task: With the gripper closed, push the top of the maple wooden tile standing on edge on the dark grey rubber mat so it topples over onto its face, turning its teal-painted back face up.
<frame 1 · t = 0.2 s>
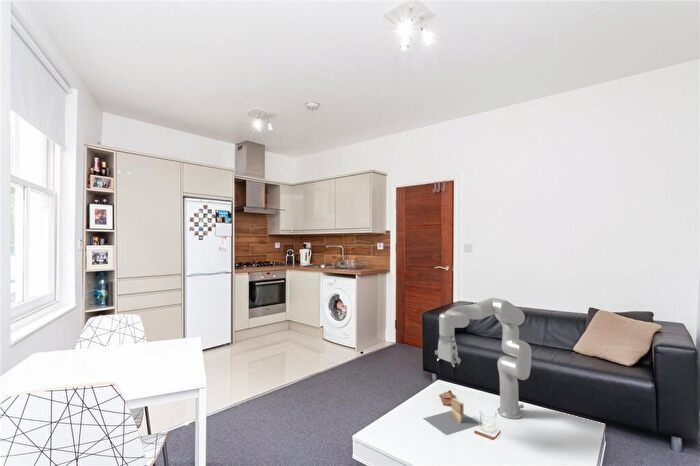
hand: (447, 371, 180), 31 cm above the table, tool pointing down, fingers open, 9 cm apart
sunglasses case: (447, 402, 215), on the table
rubber mat: (451, 422, 189), on the table
maple tile: (457, 419, 191), point 1 cm above the table, touching rubber mat
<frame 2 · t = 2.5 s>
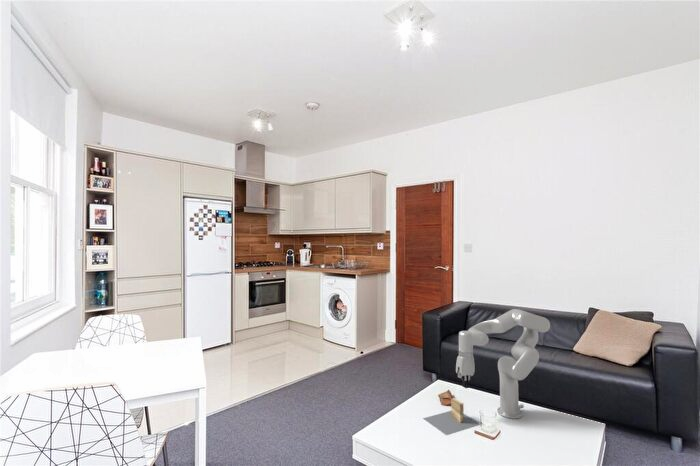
hand: (465, 387, 194), 17 cm above the table, tool pointing down, fingers closed
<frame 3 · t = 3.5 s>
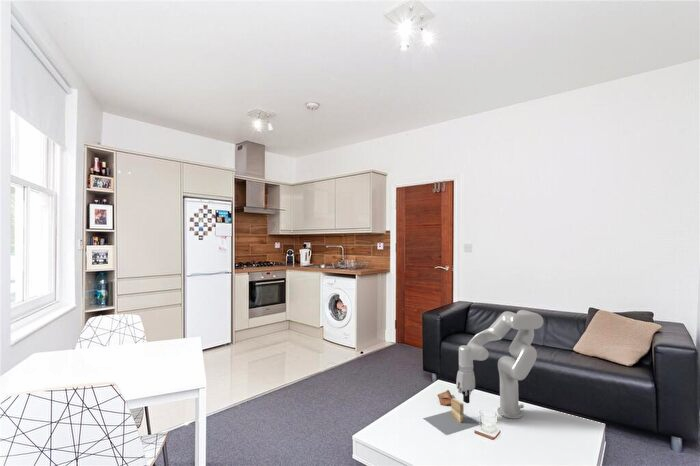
hand: (466, 402, 194), 9 cm above the table, tool pointing down, fingers closed
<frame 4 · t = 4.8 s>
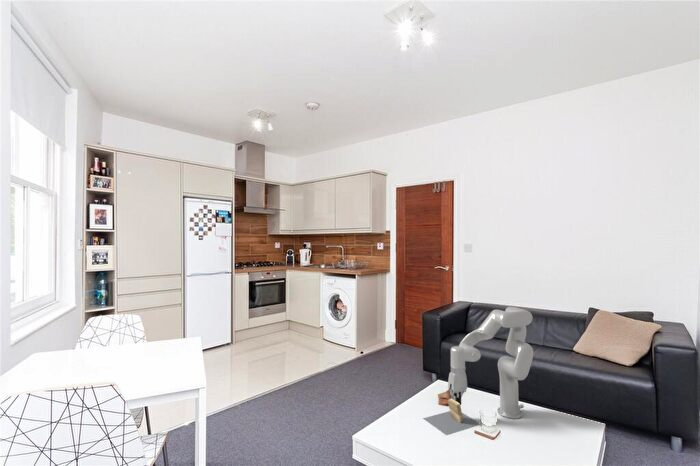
hand: (458, 404, 192), 9 cm above the table, tool pointing down, fingers closed
maple tile: (457, 419, 191), point 1 cm above the table, tilted 14°, touching rubber mat
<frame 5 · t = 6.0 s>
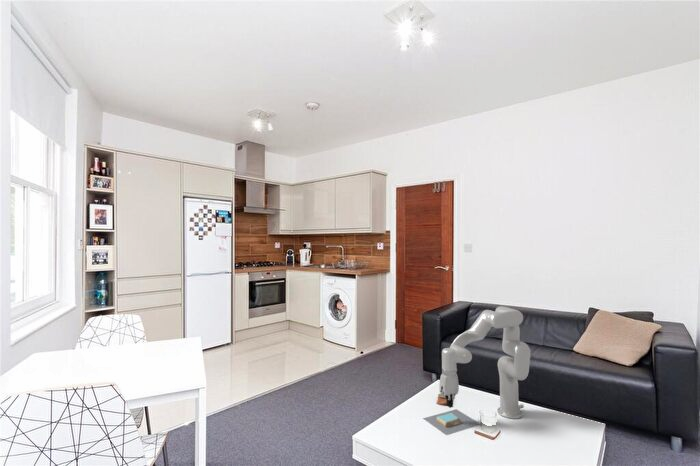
hand: (449, 406, 189), 9 cm above the table, tool pointing down, fingers closed
maple tile: (455, 417, 190), point 2 cm above the table, tilted 90°, touching rubber mat
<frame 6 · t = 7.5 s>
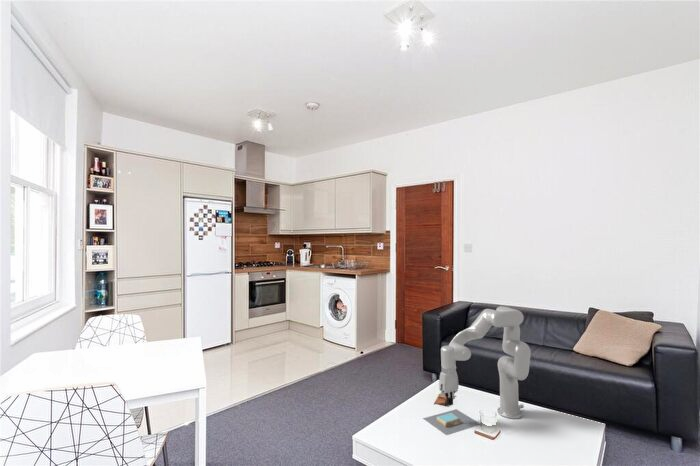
hand: (449, 404, 189), 10 cm above the table, tool pointing down, fingers closed
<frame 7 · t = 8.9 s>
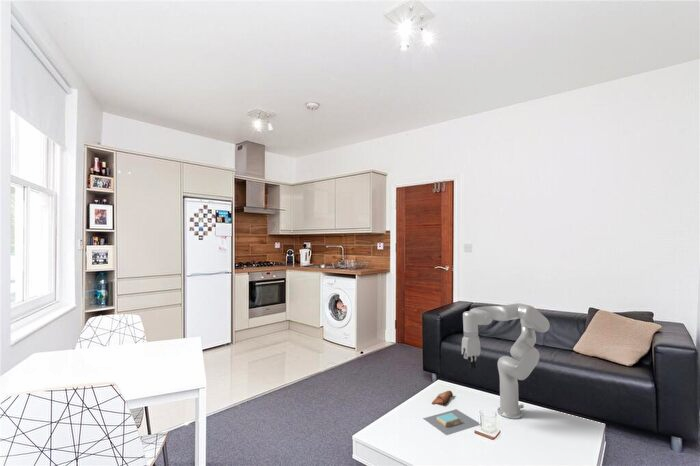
hand: (472, 368, 192), 28 cm above the table, tool pointing down, fingers closed
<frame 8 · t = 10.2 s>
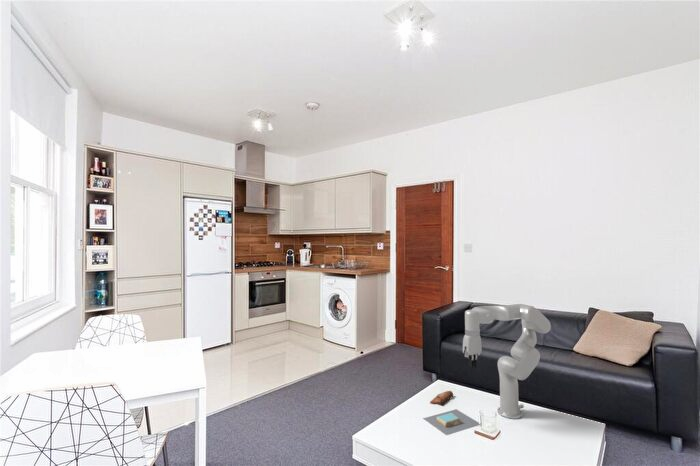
hand: (472, 366, 192), 29 cm above the table, tool pointing down, fingers closed
at the end: maple tile tilted 90°; maple tile inside the target area on the rubber mat (2.7 cm from its centre), point 1.8 cm above the rubber mat's base; the gripper is holding nothing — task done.
